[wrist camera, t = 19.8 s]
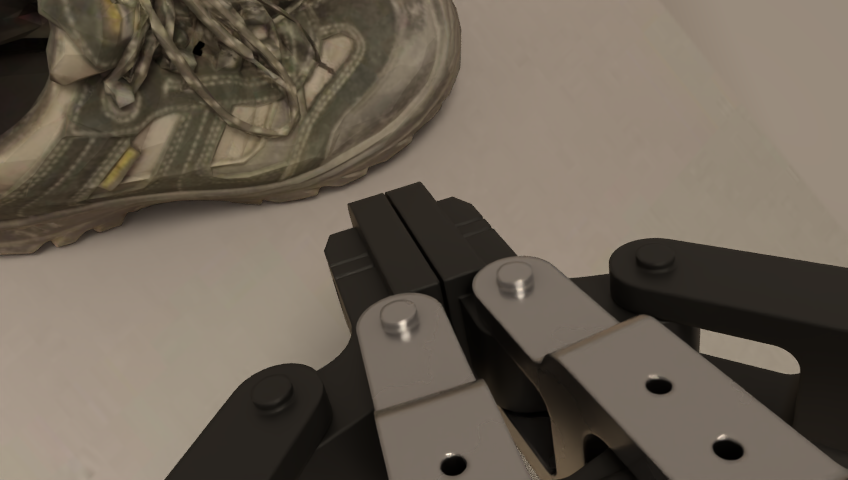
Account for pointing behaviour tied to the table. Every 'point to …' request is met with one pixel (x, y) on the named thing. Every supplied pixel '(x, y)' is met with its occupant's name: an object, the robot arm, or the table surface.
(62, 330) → the table surface
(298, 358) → the table surface
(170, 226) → the table surface
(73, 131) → the hiking shoe
